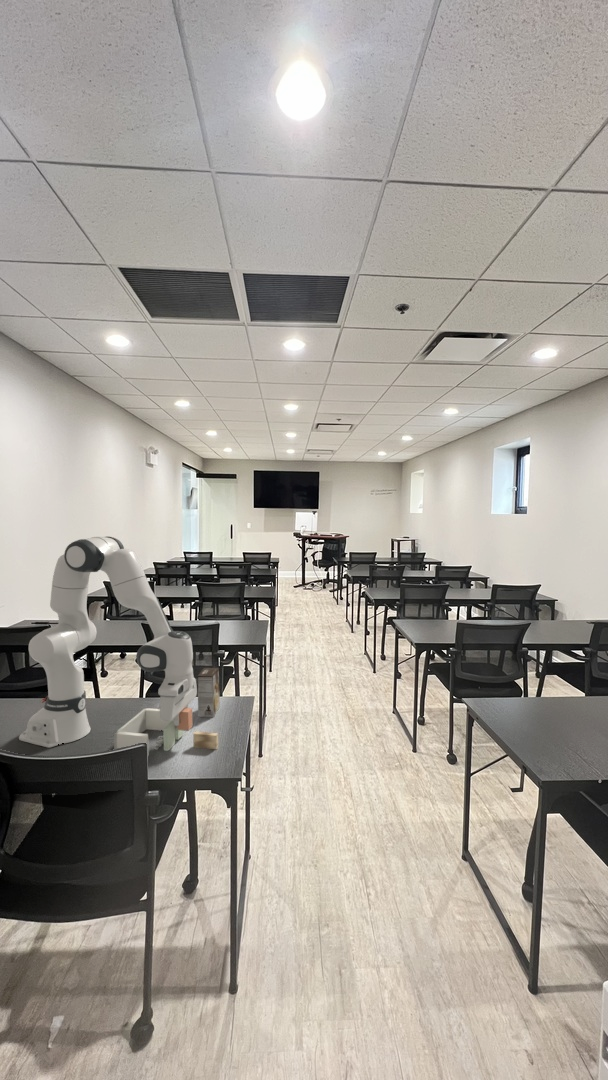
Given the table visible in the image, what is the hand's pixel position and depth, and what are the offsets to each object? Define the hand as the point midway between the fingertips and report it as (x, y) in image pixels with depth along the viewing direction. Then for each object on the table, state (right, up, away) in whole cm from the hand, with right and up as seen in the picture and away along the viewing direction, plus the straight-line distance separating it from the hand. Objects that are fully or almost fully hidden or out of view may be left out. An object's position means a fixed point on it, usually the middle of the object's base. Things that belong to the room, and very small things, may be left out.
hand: (180, 721), depth 149 cm
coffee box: (+4, -7, +25) cm, 26 cm away
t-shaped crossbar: (0, -7, 0) cm, 7 cm away
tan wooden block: (+9, -8, -1) cm, 12 cm away
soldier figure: (-5, -8, +2) cm, 10 cm away
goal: (-12, -8, +3) cm, 15 cm away
